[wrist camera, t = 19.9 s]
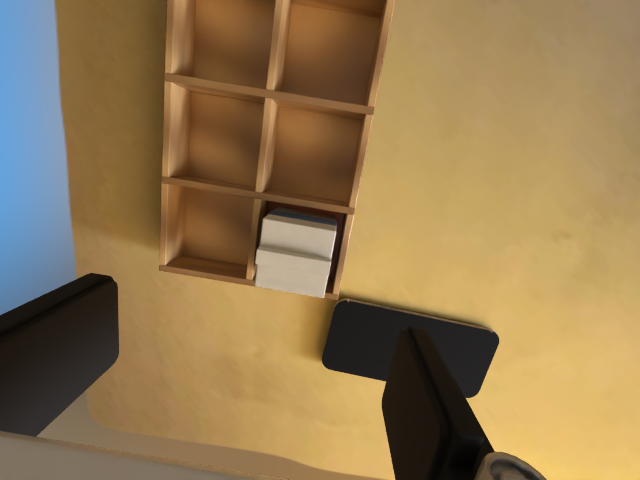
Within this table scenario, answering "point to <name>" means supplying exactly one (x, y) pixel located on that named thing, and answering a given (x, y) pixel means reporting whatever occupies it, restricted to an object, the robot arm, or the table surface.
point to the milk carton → (295, 251)
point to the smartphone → (382, 334)
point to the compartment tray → (264, 124)
